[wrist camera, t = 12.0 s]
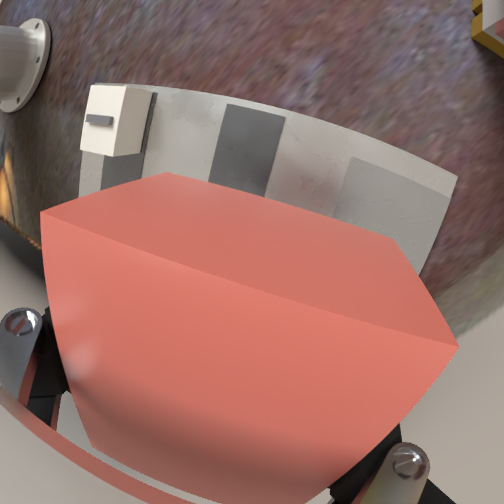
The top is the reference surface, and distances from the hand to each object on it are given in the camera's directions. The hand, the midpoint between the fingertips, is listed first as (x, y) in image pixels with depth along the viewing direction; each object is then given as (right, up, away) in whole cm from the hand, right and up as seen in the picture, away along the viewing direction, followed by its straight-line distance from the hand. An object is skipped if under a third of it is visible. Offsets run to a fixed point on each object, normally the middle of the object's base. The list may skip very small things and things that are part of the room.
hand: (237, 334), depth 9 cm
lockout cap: (0, 0, +1) cm, 1 cm away
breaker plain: (-9, +13, +11) cm, 20 cm away
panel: (0, +7, +13) cm, 15 cm away
